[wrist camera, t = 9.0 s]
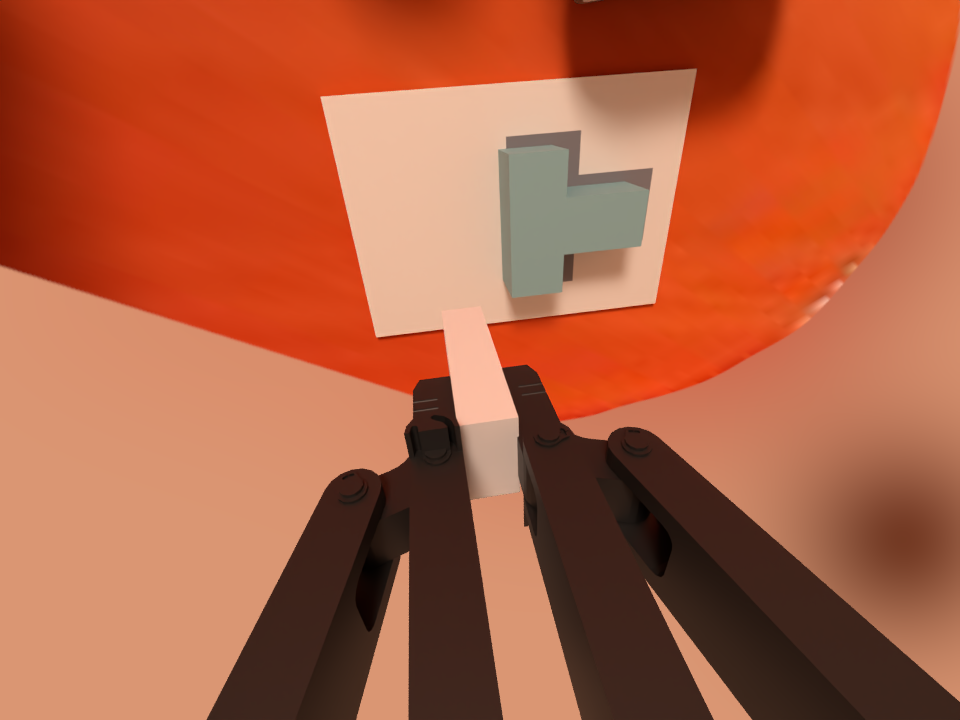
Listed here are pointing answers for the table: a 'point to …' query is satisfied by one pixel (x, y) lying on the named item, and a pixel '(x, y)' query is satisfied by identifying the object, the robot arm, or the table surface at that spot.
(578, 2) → the tin
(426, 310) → the mat
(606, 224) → the t block
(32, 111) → the table surface
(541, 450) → the robot arm
